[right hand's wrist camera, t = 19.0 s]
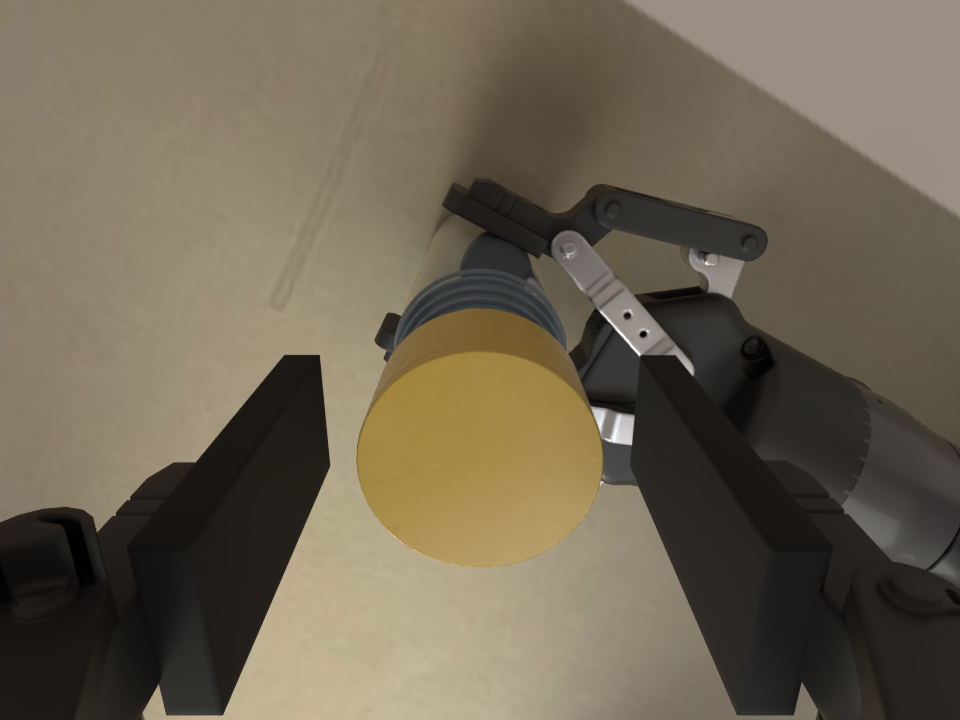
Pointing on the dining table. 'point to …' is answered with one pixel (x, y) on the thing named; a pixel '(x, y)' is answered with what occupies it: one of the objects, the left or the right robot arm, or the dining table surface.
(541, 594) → the dining table surface
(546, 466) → the cap
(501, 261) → the bottle
